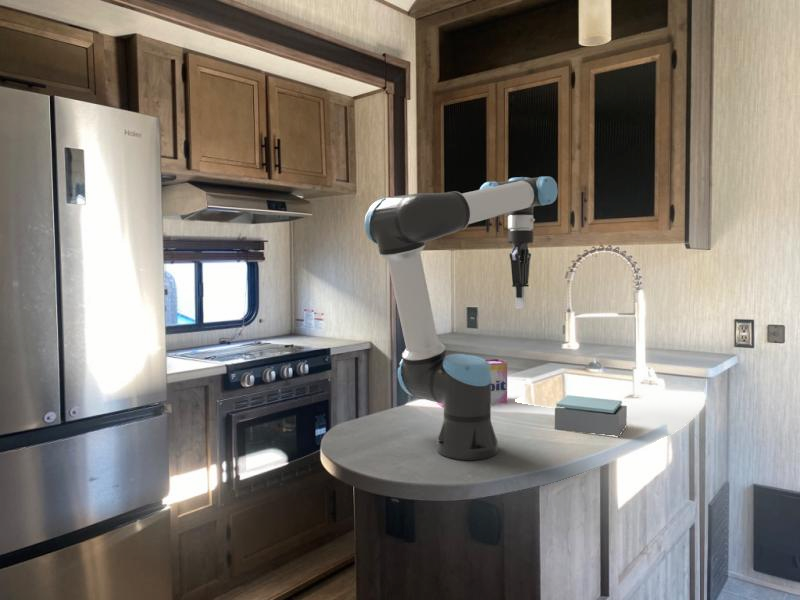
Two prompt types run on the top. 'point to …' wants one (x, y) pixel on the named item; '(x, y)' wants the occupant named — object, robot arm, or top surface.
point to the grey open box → (591, 420)
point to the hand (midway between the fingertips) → (520, 308)
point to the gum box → (497, 381)
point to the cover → (589, 403)
